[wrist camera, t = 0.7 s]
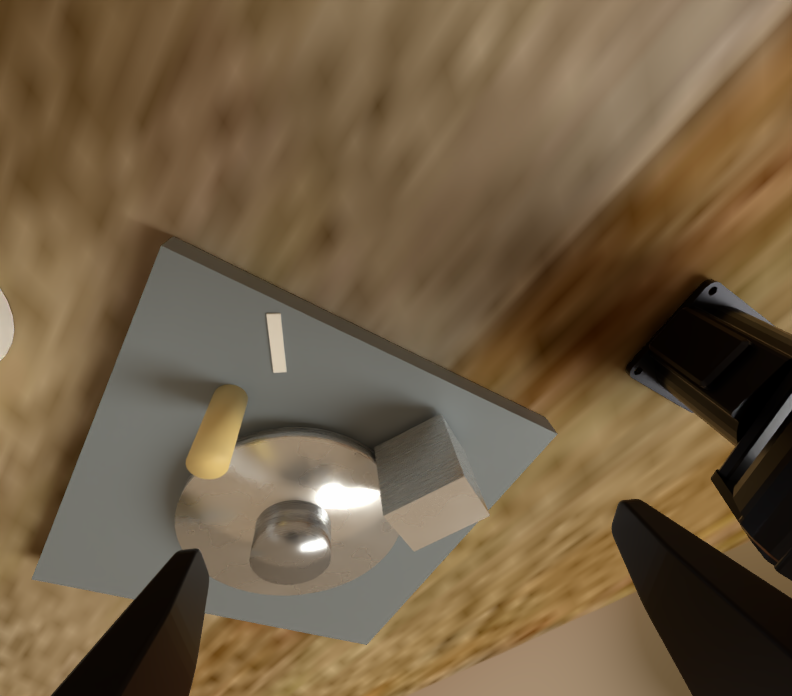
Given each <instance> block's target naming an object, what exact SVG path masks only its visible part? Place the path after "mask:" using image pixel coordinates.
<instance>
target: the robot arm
mask: <svg viewBox="0 0 792 696" xmlns="http://www.w3.org/2000/svg"><path fill="white" fill-rule="evenodd" d="M710 288H711V290H710V291H709V289H710ZM708 291H709V292H708ZM636 368H637V370H635V369H636ZM626 373H627V374H628V375H629V376H631V377H632V378H633V379H635V380H637V381H638V382H640V383H642V384H643V385H645V386H647V387H648V388H650V389H652V390H654V391H655V392H657V393H659V394H660V395H662V396H664V397H665V398H667V399H669V400H671V401H672V402H674V403H676V404H677V405H679V406H681V407H682V408H684V409H686V410H688V411H689V412H692V413H695V414H696V415H698V416H699V417H700V418H701V419H703V420H704V421H705V422H706V423H707V424H709V425H710V426H711V427H712V428H714V429H715V430H716V431H717V432H718V433H720V434H721V435H722V436H723V437H725V438H726V439H727V440H728V441H729V442H731V443H732V444H733V445H734V446H736V447H735V448H734V449H733V451H732V452H731V454H730V455H729V457H728V458H727V459H726V461H725V462H724V464H723V465H722V466H721V468H720V469H719V470H716V471H715V473H714V474H713V475H712V477H711V480H712V482H713V483H714V485H715V487H716V488H717V490H718V491H719V493H720V494H721V496H722V497H723V499H724V500H725V502H726V503H727V505H728V506H729V508H730V509H731V511H732V513H733V514H734V516H735V517H736V519H737V520H738V522H739V523H740V525H741V527H742V529H743V530H744V531H745V532H746V534H747V535H748V537H749V539H750V540H751V542H752V543H753V544H754V546H755V547H756V548H757V549H758V551H759V552H760V553H761V554H762V556H763V557H764V558H765V559H766V560H767V561H768V562H769V563H771V564H773V565H774V568H775V569H776V571H778V572H779V573H780V574H782V575H783V576H785V577H787V578H788V579H790V580H791V581H792V334H790V333H787V332H785V331H783V330H781V329H779V328H777V327H775V326H774V325H773V324H771V323H770V322H769V321H768V320H766V319H765V318H764V317H762V316H761V315H760V314H759V313H757V312H756V311H755V310H754V309H752V308H751V307H750V306H749V305H747V304H746V303H745V302H743V301H742V300H741V299H740V298H738V297H737V296H736V295H735V294H733V293H732V292H731V291H730V290H728V289H727V288H726V287H725V286H723V285H722V284H721V283H719V282H717V281H714V280H712V279H711V280H707V281H704V282H703V283H702V284H701V285H700V286H699V287H698V288H697V289H696V291H695V292H694V293H693V294H692V295H691V296H690V297H689V298H688V299H687V300H686V301H685V303H684V304H683V305H682V306H681V307H680V308H679V309H678V310H677V311H676V312H675V314H674V315H673V316H672V317H671V318H670V319H669V320H668V321H667V322H666V323H665V324H664V326H663V327H662V328H661V329H660V330H659V331H658V332H657V333H656V334H655V335H654V337H653V338H652V339H651V340H650V341H649V342H648V343H647V344H646V345H645V346H644V347H643V349H642V350H641V351H640V352H639V353H638V354H637V355H636V356H635V357H634V358H633V360H632V361H631V362H630V363H629V364H628V365H627V367H626ZM612 534H613V537H614V539H615V542H616V544H617V546H618V549H619V551H620V553H621V556H622V558H623V560H624V562H625V565H626V567H627V569H628V572H629V574H630V576H631V579H632V581H633V583H634V585H635V588H636V590H637V592H638V595H639V597H640V599H641V601H642V603H643V605H644V607H645V609H646V611H647V613H648V615H649V617H650V619H651V621H652V623H653V624H654V626H655V628H656V630H657V632H658V633H659V635H660V637H661V639H662V640H663V642H664V644H665V646H666V648H667V650H668V652H669V653H670V655H671V657H672V659H673V661H674V662H675V664H676V666H677V668H678V670H679V672H680V673H681V675H682V677H683V679H684V680H685V683H686V684H687V686H688V688H689V690H690V692H691V694H692V695H693V696H792V598H790V597H788V596H787V595H786V594H784V593H782V592H781V591H779V590H778V589H776V588H775V587H773V586H772V585H770V584H769V583H767V582H766V581H764V580H762V579H761V578H759V577H758V576H757V575H755V574H753V573H752V572H750V571H749V570H747V569H746V568H744V567H742V566H741V565H740V564H738V563H737V562H735V561H734V560H732V559H731V558H729V557H727V556H726V555H724V554H723V553H721V552H720V551H718V550H717V549H715V548H714V547H712V546H711V545H709V544H708V543H706V542H705V541H703V540H702V539H700V538H698V537H697V536H695V535H694V534H692V533H691V532H689V531H688V530H686V529H685V528H683V527H682V526H680V525H679V524H677V523H676V522H674V521H672V520H671V519H669V518H668V517H666V516H665V515H663V514H662V513H660V512H659V511H657V510H656V509H654V508H653V507H651V506H650V505H648V504H647V503H645V502H643V501H642V500H639V499H630V500H622V501H620V502H619V504H618V506H617V509H616V513H615V516H614V519H613V522H612ZM208 588H209V573H208V570H207V567H206V564H205V561H204V559H203V556H202V553H201V551H200V550H199V549H198V548H193V549H184V550H179V551H177V552H176V553H175V554H174V555H173V556H172V557H171V558H170V559H169V560H168V562H167V563H166V564H165V565H164V566H163V567H162V568H161V570H160V571H159V572H158V573H157V574H156V575H155V576H154V578H153V579H152V580H151V581H150V582H149V583H148V585H147V586H146V587H145V588H144V589H143V590H142V591H141V593H140V594H139V595H138V596H137V597H136V598H135V599H134V601H133V602H132V603H131V604H130V605H129V606H128V608H127V609H126V610H125V611H124V612H123V613H122V614H121V616H120V617H119V618H118V619H117V620H116V621H115V622H114V624H113V625H112V626H111V627H110V628H109V629H108V630H107V632H106V633H105V634H104V635H103V636H102V637H101V639H100V640H99V641H98V642H97V643H96V644H95V645H94V647H93V648H92V649H91V650H90V651H89V652H88V653H87V655H86V656H85V657H84V658H83V659H82V660H81V662H80V663H79V664H78V665H77V666H76V667H75V668H74V670H73V671H72V672H71V673H70V674H69V675H68V676H67V678H66V679H65V680H64V681H63V682H62V683H61V685H60V686H59V687H58V688H57V689H56V690H55V691H54V693H53V694H52V695H51V696H189V693H190V689H191V685H192V681H193V677H194V673H195V669H196V663H197V658H198V652H199V646H200V639H201V633H202V627H203V620H204V614H205V607H206V601H207V595H208Z"/></svg>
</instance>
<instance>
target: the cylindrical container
mask: <svg viewBox="0 0 792 696" xmlns="http://www.w3.org/2000/svg"><path fill="white" fill-rule="evenodd" d="M13 334H14V323H13V315H12V312H11V310H10V307H9V304H8V301H7V299H6V298H5V296H4V294H3V293H2V291H1V289H0V360H1V359H2V358H3V357H4V356H5V355H6V354H7V352H8V350H9V348H10V346H11V344H12V340H13Z"/></svg>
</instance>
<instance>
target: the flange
mask: <svg viewBox="0 0 792 696" xmlns="http://www.w3.org/2000/svg"><path fill="white" fill-rule="evenodd" d="M374 451H375V452H374ZM374 451H373V450H371V449H370V448H368V447H367V446H365V445H364V444H362V443H360V442H358V441H356V440H354V439H352V438H350V437H347V436H345V435H342V434H338V433H335V432H332V431H327V430H322V429H317V428H307V427H282V428H273V429H267V430H262V431H257V432H253V433H250V434H247V435H244V436H241V437H238V438H237V441H236V444H235V448H234V451H233V455H232V458H231V462H230V465H229V469H228V471H227V472H226V473H225V474H224V475H223V476H221V477H219V478H216V479H202V478H199V477H196V476H194V475H193V474H191V475H190V476H189V478H188V479H187V481H186V484H185V486H184V489H183V491H182V494H181V496H180V499H179V501H178V504H177V508H176V512H175V530H176V535H177V539H178V541H179V544H180V546H181V548H182V549H183V550H184V549H193V548H198V549H199V550H200V551H201V553H202V556H203V559H204V561H205V564H206V567H207V570H208V573H209V576H210V577H212V578H213V579H215V580H217V581H219V582H221V583H223V584H225V585H228V586H231V587H233V588H236V589H240V590H243V591H247V592H252V593H258V594H265V595H281V596H289V595H303V594H309V593H316V592H320V591H324V590H328V589H331V588H334V587H337V586H340V585H343V584H345V583H347V582H350V581H352V580H354V579H356V578H358V577H359V576H361V575H363V574H364V573H366V572H367V571H369V570H370V569H372V568H373V567H374V566H375V565H377V564H378V563H379V562H380V561H381V560H382V559H383V558H384V557H385V556H386V555H387V554H388V552H389V551H390V550H391V548H392V547H393V545H394V544H395V542H396V540H397V538H398V536H399V535H400V536H401V537H402V538H403V540H404V541H405V542H406V543H407V544H408V545H409V547H410V548H411V549H412V550H413V551H414V552H415V551H417V550H419V549H421V548H423V547H425V546H427V545H429V544H432V543H434V542H436V541H438V540H440V539H442V538H444V537H446V536H448V535H450V534H453V533H455V532H457V531H459V530H461V529H463V528H465V527H467V526H469V525H471V524H474V523H476V522H478V521H480V520H482V519H484V518H486V517H488V516H490V514H489V512H488V509H487V507H486V504H485V502H484V499H483V497H482V494H481V492H480V489H479V487H478V484H477V482H476V479H475V477H474V474H473V472H472V469H471V467H470V464H469V462H468V459H467V457H466V454H465V452H464V449H463V448H462V446H461V445H460V443H459V441H458V440H457V438H456V437H455V435H454V433H453V432H452V430H451V429H450V427H449V425H448V424H447V422H446V421H445V419H444V417H443V416H442V414H441V413H440V414H438V415H436V416H434V417H432V418H430V419H428V420H427V421H425V422H423V423H421V424H419V425H417V426H415V427H413V428H411V429H409V430H407V431H405V432H403V433H401V434H399V435H397V436H395V437H394V438H392V439H390V440H388V441H386V442H384V443H382V444H380V445H378V446H376V447H374Z"/></svg>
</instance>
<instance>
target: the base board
mask: <svg viewBox="0 0 792 696" xmlns="http://www.w3.org/2000/svg"><path fill="white" fill-rule="evenodd" d="M440 413H441V414H442V416H443V417H444V419H445V421H446V422H447V424H448V425H449V427H450V429H451V430H452V432H453V433H454V435H455V437H456V438H457V440H458V441H459V443H460V445H461V446H462V448H463V449H464V452H465V454H466V457H467V459H468V462H469V464H470V467H471V469H472V472H473V474H474V477H475V479H476V482H477V484H478V487H479V489H480V492H481V494H482V497H483V499H484V502H485V504H486V507H487V509H488V510H489V509H490V508H491V507H492V506H493V505H494V504H495V502H496V501H497V500H498V499H499V498H500V497H501V496H502V495H503V494H504V493H505V491H506V490H507V489H508V488H509V487H510V486H511V485H512V484H513V483H514V481H515V480H516V479H517V478H518V477H519V476H520V475H521V474H522V473H523V472H524V470H525V469H526V468H527V467H528V466H529V465H530V464H531V463H532V462H533V460H534V459H535V458H536V457H537V456H538V455H539V454H540V453H541V452H542V451H543V449H544V448H545V447H546V446H547V445H548V444H549V443H550V442H551V441H552V440H553V438H554V437H555V436H556V435H557V433H556V431H555V430H554V428H553V427H552V426H551V424H550V423H549V421H548V420H547V419H546V418H545V417H543V416H541V415H539V414H537V413H535V412H533V411H531V410H529V409H527V408H524V407H522V406H520V405H518V404H516V403H514V402H512V401H510V400H508V399H506V398H504V397H502V396H500V395H498V394H496V393H494V392H492V391H490V390H488V389H485V388H483V387H481V386H479V385H477V384H475V383H473V382H471V381H469V380H467V379H465V378H463V377H461V376H459V375H457V374H455V373H453V372H451V371H449V370H446V369H444V368H442V367H440V366H438V365H436V364H434V363H432V362H430V361H428V360H426V359H424V358H422V357H420V356H418V355H416V354H414V353H412V352H410V351H408V350H405V349H403V348H401V347H399V346H397V345H395V344H393V343H391V342H389V341H387V340H385V339H383V338H381V337H379V336H377V335H375V334H373V333H371V332H369V331H366V330H364V329H362V328H360V327H358V326H356V325H354V324H352V323H350V322H348V321H346V320H344V319H342V318H340V317H338V316H336V315H334V314H332V313H330V312H327V311H325V310H323V309H321V308H319V307H317V306H315V305H313V304H311V303H309V302H307V301H305V300H303V299H301V298H299V297H297V296H295V295H293V294H291V293H288V292H286V291H284V290H282V289H280V288H278V287H276V286H274V285H272V284H270V283H268V282H266V281H264V280H262V279H260V278H258V277H256V276H254V275H252V274H249V273H247V272H245V271H243V270H241V269H239V268H237V267H235V266H233V265H231V264H229V263H227V262H225V261H223V260H221V259H219V258H217V257H215V256H213V255H210V254H208V253H206V252H204V251H202V250H200V249H198V248H196V247H194V246H192V245H190V244H188V243H186V242H184V241H182V240H180V239H178V238H176V237H174V236H173V237H172V238H170V239H169V240H168V241H166V242H165V243H164V244H163V245H161V247H160V250H159V253H158V255H157V258H156V260H155V263H154V265H153V268H152V271H151V273H150V276H149V278H148V281H147V283H146V286H145V289H144V291H143V294H142V296H141V299H140V301H139V304H138V307H137V309H136V312H135V314H134V317H133V319H132V322H131V325H130V327H129V330H128V332H127V335H126V337H125V340H124V343H123V345H122V348H121V350H120V353H119V356H118V358H117V361H116V363H115V366H114V368H113V371H112V374H111V376H110V379H109V381H108V384H107V386H106V389H105V392H104V394H103V397H102V399H101V402H100V404H99V407H98V410H97V412H96V415H95V417H94V420H93V422H92V425H91V428H90V430H89V433H88V435H87V438H86V440H85V443H84V446H83V448H82V451H81V453H80V456H79V459H78V461H77V464H76V466H75V469H74V471H73V474H72V477H71V479H70V482H69V484H68V487H67V489H66V492H65V495H64V497H63V500H62V502H61V505H60V507H59V510H58V513H57V515H56V518H55V520H54V523H53V525H52V528H51V531H50V533H49V536H48V538H47V541H46V543H45V546H44V549H43V551H42V554H41V556H40V559H39V562H38V564H37V567H36V569H35V572H34V574H33V577H32V579H33V580H38V581H43V582H48V583H53V584H58V585H63V586H69V587H74V588H79V589H84V590H89V591H94V592H99V593H104V594H109V595H115V596H120V597H125V598H130V599H135V598H136V597H137V596H138V595H139V594H140V593H141V591H142V590H143V589H144V588H145V587H146V586H147V585H148V583H149V582H150V581H151V580H152V579H153V578H154V576H155V575H156V574H157V573H158V572H159V571H160V570H161V568H162V567H163V566H164V565H165V564H166V563H167V562H168V560H169V559H170V558H171V557H172V556H173V555H174V554H175V553H176V552H177V551H179V550H183V549H182V548H181V546H180V544H179V541H178V539H177V535H176V530H175V512H176V508H177V504H178V501H179V499H180V496H181V494H182V491H183V489H184V486H185V484H186V481H187V479H188V478H189V476H190V475H191V474H193V475H194V476H196V477H199V478H202V479H216V478H219V477H221V476H223V475H224V474H225V473H226V472H227V471H228V469H229V465H230V462H231V458H232V455H233V451H234V448H235V444H236V441H237V438H238V437H241V436H244V435H247V434H250V433H253V432H257V431H262V430H267V429H273V428H282V427H307V428H317V429H322V430H327V431H332V432H335V433H338V434H342V435H345V436H347V437H350V438H352V439H354V440H356V441H358V442H360V443H362V444H364V445H365V446H367V447H368V448H370V449H371V450H373V451H374V447H376V446H378V445H380V444H382V443H384V442H386V441H388V440H390V439H392V438H394V437H395V436H397V435H399V434H401V433H403V432H405V431H407V430H409V429H411V428H413V427H415V426H417V425H419V424H421V423H423V422H425V421H427V420H428V419H430V418H432V417H434V416H436V415H438V414H440ZM374 452H375V451H374ZM476 523H477V522H476ZM476 523H474V524H471V525H469V526H467V527H465V528H463V529H461V530H459V531H457V532H455V533H453V534H450V535H448V536H446V537H444V538H442V539H440V540H438V541H436V542H434V543H432V544H429V545H427V546H425V547H423V548H421V549H419V550H417V551H415V552H414V551H413V550H412V549H411V548H410V547H409V545H408V544H407V543H406V542H405V541H404V540H403V538H402V537H401V536H400V535H399V536H398V538H397V540H396V542H395V544H394V545H393V547H392V548H391V550H390V551H389V552H388V554H387V555H386V556H385V557H384V558H383V559H382V560H381V561H380V562H379V563H378V564H377V565H375V566H374V567H373V568H372V569H370V570H369V571H367V572H366V573H364V574H363V575H361V576H359V577H358V578H356V579H354V580H352V581H350V582H347V583H345V584H343V585H340V586H337V587H334V588H331V589H328V590H324V591H320V592H316V593H309V594H303V595H289V596H281V595H265V594H258V593H252V592H247V591H243V590H240V589H236V588H233V587H231V586H228V585H225V584H223V583H221V582H219V581H217V580H215V579H213V578H212V577H210V576H209V588H208V595H207V601H206V607H205V613H207V614H212V615H217V616H222V617H227V618H232V619H237V620H243V621H248V622H253V623H258V624H263V625H268V626H273V627H278V628H283V629H289V630H294V631H299V632H304V633H309V634H314V635H319V636H324V637H329V638H335V639H340V640H345V641H350V642H355V643H360V644H365V645H367V644H368V643H369V642H370V641H371V639H372V638H373V637H374V636H375V635H376V634H377V633H378V632H379V631H380V629H381V628H382V627H383V626H384V625H385V624H386V623H387V622H388V621H389V620H390V618H391V617H392V616H393V615H394V614H395V613H396V612H397V611H398V610H399V609H400V607H401V606H402V605H403V604H404V603H405V602H406V601H407V600H408V599H409V597H410V596H411V595H412V594H413V593H414V592H415V591H416V590H417V589H418V588H419V586H420V585H421V584H422V583H423V582H424V581H425V580H426V579H427V578H428V576H429V575H430V574H431V573H432V572H433V571H434V570H435V569H436V568H437V567H438V565H439V564H440V563H441V562H442V561H443V560H444V559H445V558H446V557H447V555H448V554H449V553H450V552H451V551H452V550H453V549H454V548H455V547H456V546H457V544H458V543H459V542H460V541H461V540H462V539H463V538H464V537H465V536H466V535H467V533H468V532H469V531H470V530H471V529H472V528H473V527H474V526H475V525H476Z"/></svg>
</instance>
